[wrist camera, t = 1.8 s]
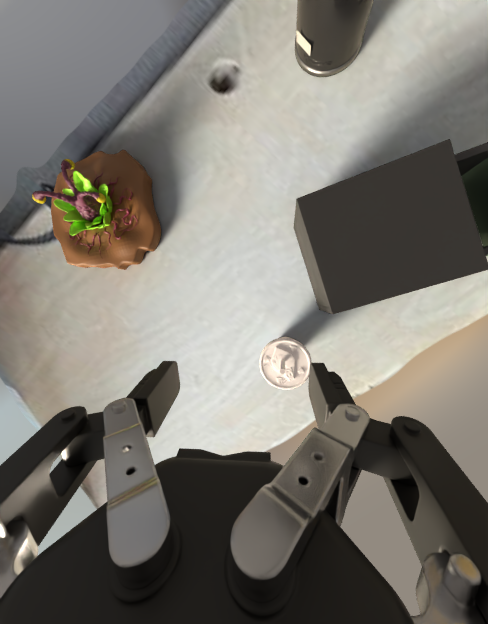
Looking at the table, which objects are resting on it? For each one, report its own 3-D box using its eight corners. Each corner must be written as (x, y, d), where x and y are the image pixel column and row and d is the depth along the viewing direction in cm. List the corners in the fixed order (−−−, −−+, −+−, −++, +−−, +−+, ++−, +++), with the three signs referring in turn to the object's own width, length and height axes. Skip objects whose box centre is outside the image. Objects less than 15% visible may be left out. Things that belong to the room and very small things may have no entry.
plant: (53, 175, 44) (-25, 134, 33) (147, 145, 40) (94, 87, 29) (73, 281, 44) (3, 275, 33) (167, 261, 41) (123, 247, 30)
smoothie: (294, 321, 37) (299, 335, 24) (312, 358, 37) (327, 393, 23) (259, 338, 39) (244, 360, 25) (276, 373, 38) (270, 415, 25)
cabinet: (399, 187, 34) (449, 138, 23) (427, 277, 34) (490, 269, 23) (293, 226, 37) (296, 198, 26) (319, 309, 37) (332, 314, 26)
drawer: (504, 151, 30) (591, 94, 22) (532, 242, 30) (630, 220, 22) (357, 206, 34) (381, 174, 25) (382, 287, 34) (415, 283, 25)
